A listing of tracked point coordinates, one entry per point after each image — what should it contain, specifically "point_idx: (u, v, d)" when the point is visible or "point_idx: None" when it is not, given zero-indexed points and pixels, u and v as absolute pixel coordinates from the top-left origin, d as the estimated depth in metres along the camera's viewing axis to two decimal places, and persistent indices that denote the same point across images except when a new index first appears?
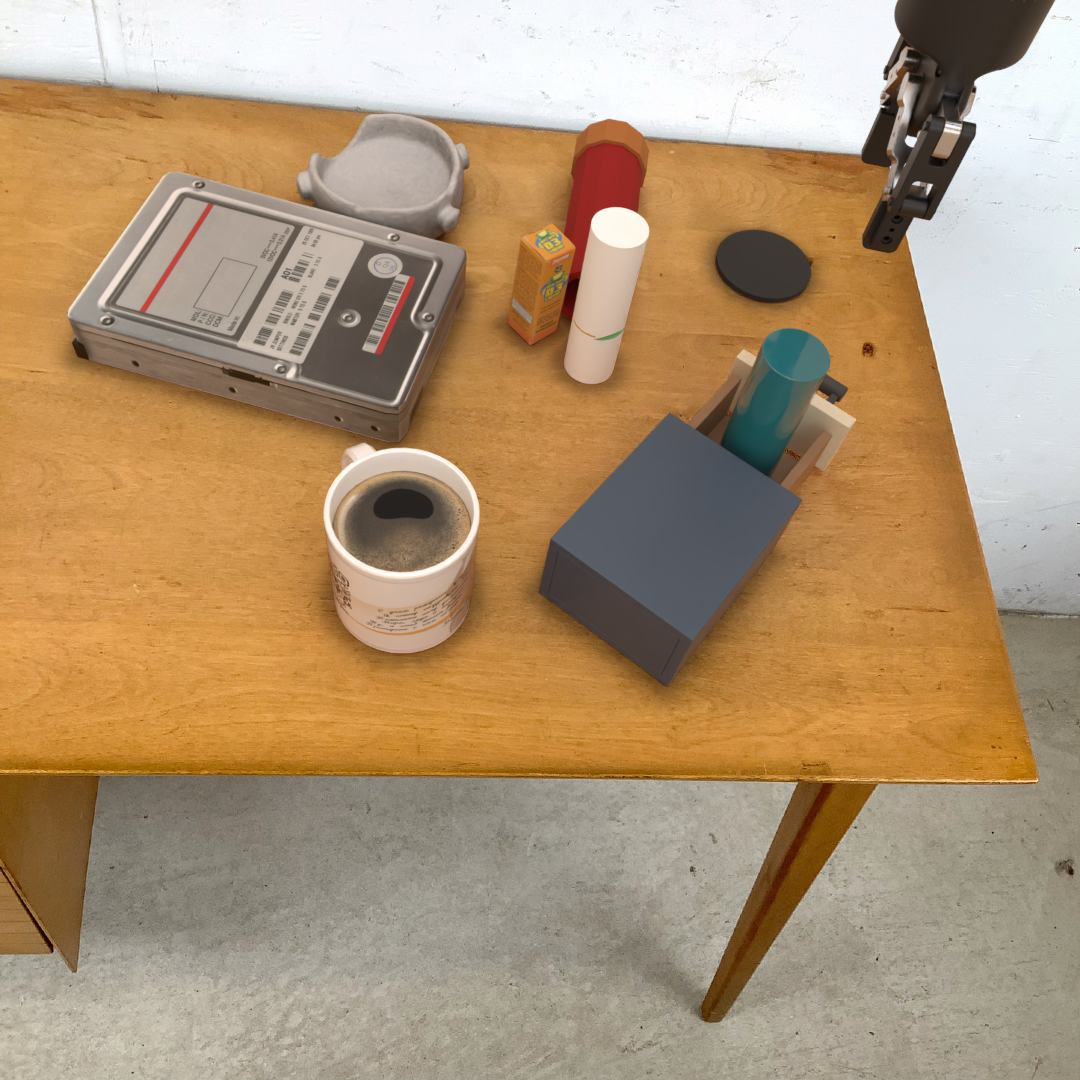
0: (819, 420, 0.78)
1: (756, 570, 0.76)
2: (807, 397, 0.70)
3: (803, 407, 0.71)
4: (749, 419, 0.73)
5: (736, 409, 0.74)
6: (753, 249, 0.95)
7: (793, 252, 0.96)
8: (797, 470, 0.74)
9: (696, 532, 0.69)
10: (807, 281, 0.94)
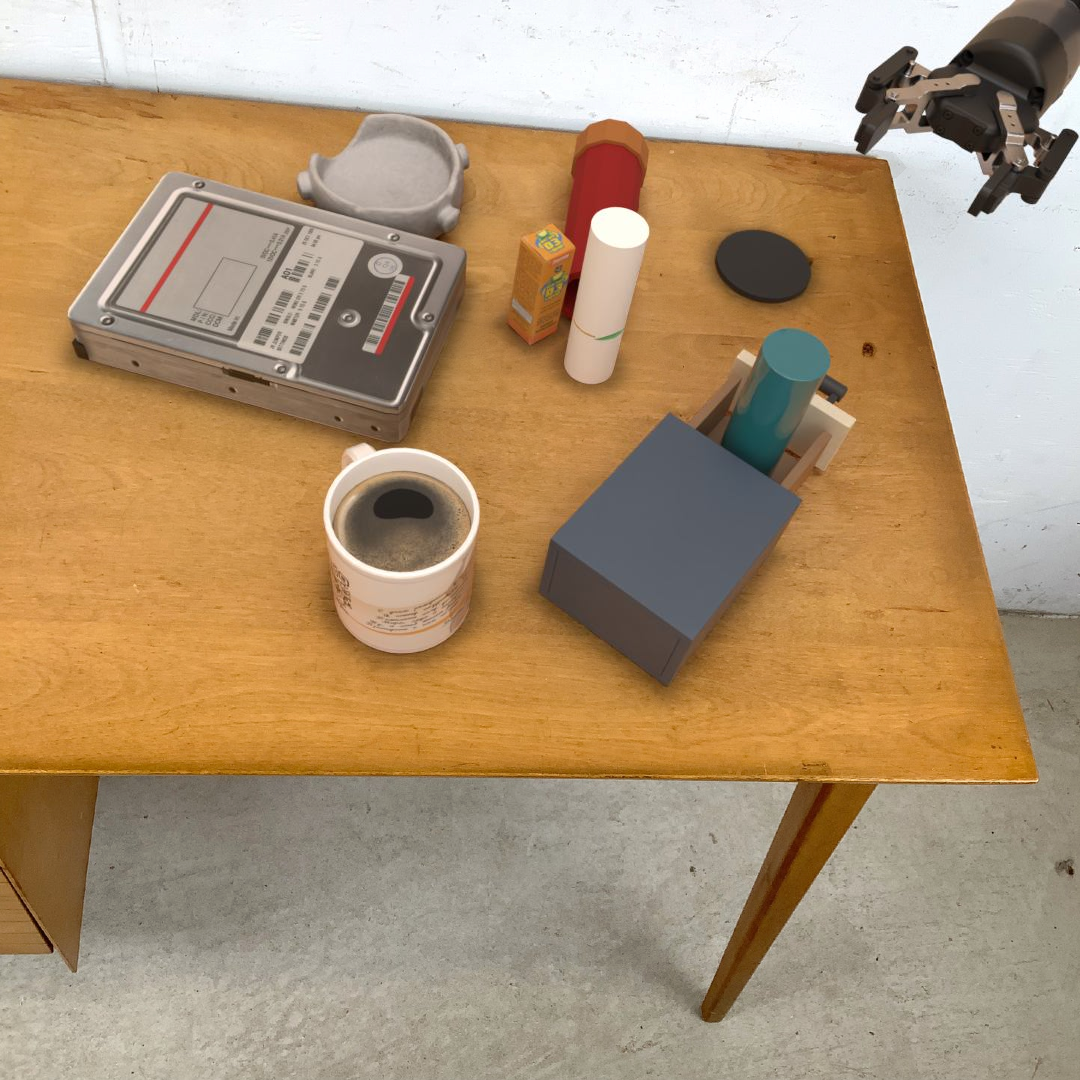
0: (819, 420, 0.78)
1: (756, 570, 0.76)
2: (807, 397, 0.70)
3: (803, 407, 0.71)
4: (749, 419, 0.73)
5: (736, 409, 0.74)
6: (753, 249, 0.95)
7: (793, 252, 0.96)
8: (797, 470, 0.74)
9: (696, 532, 0.69)
10: (807, 281, 0.94)
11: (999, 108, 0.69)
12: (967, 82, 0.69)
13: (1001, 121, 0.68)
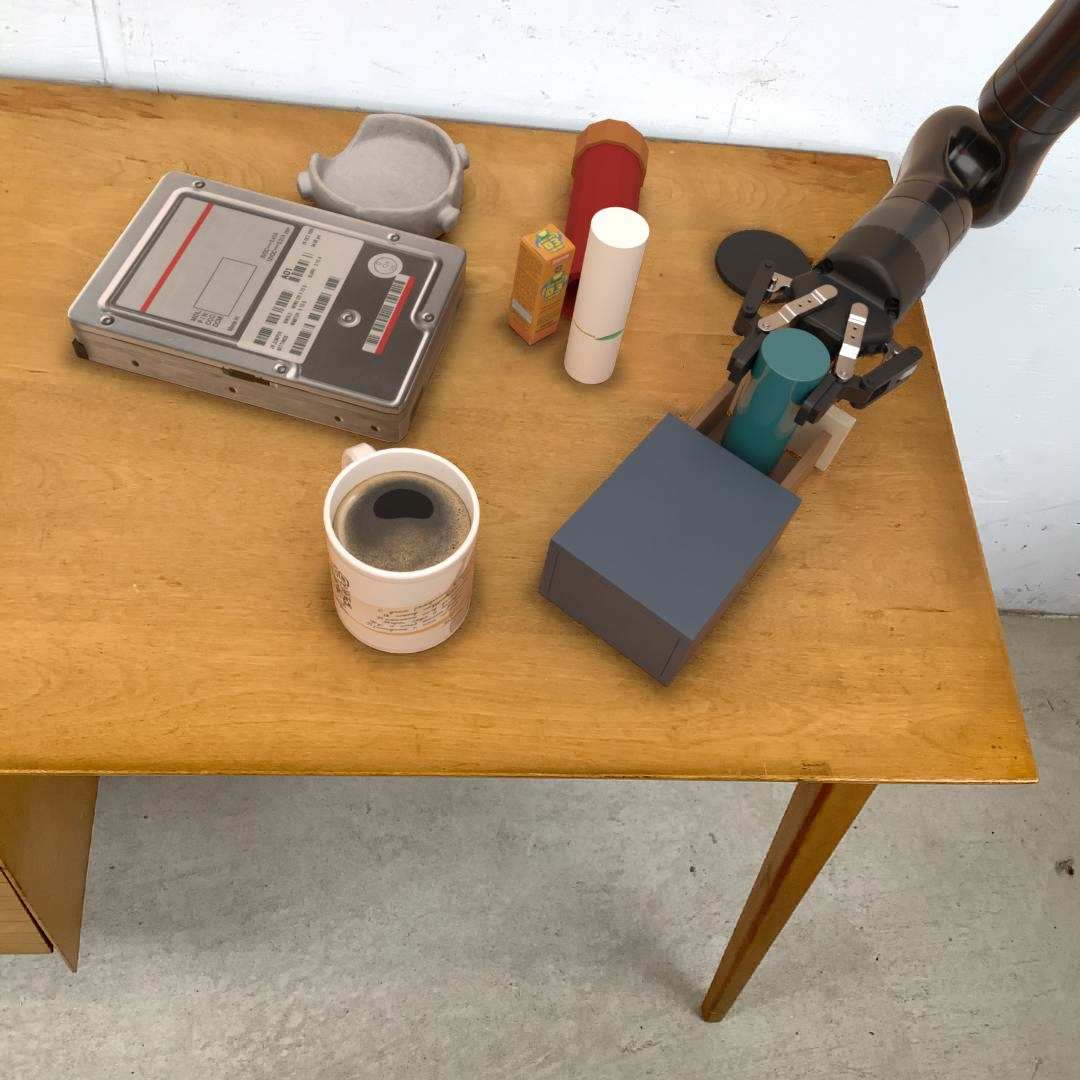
0: None
1: (756, 570, 0.76)
2: (807, 397, 0.70)
3: None
4: (749, 419, 0.73)
5: (736, 409, 0.74)
6: (753, 249, 0.95)
7: (793, 252, 0.96)
8: (797, 470, 0.74)
9: (696, 532, 0.69)
10: None
11: (848, 319, 0.72)
12: (824, 294, 0.72)
13: (845, 331, 0.71)
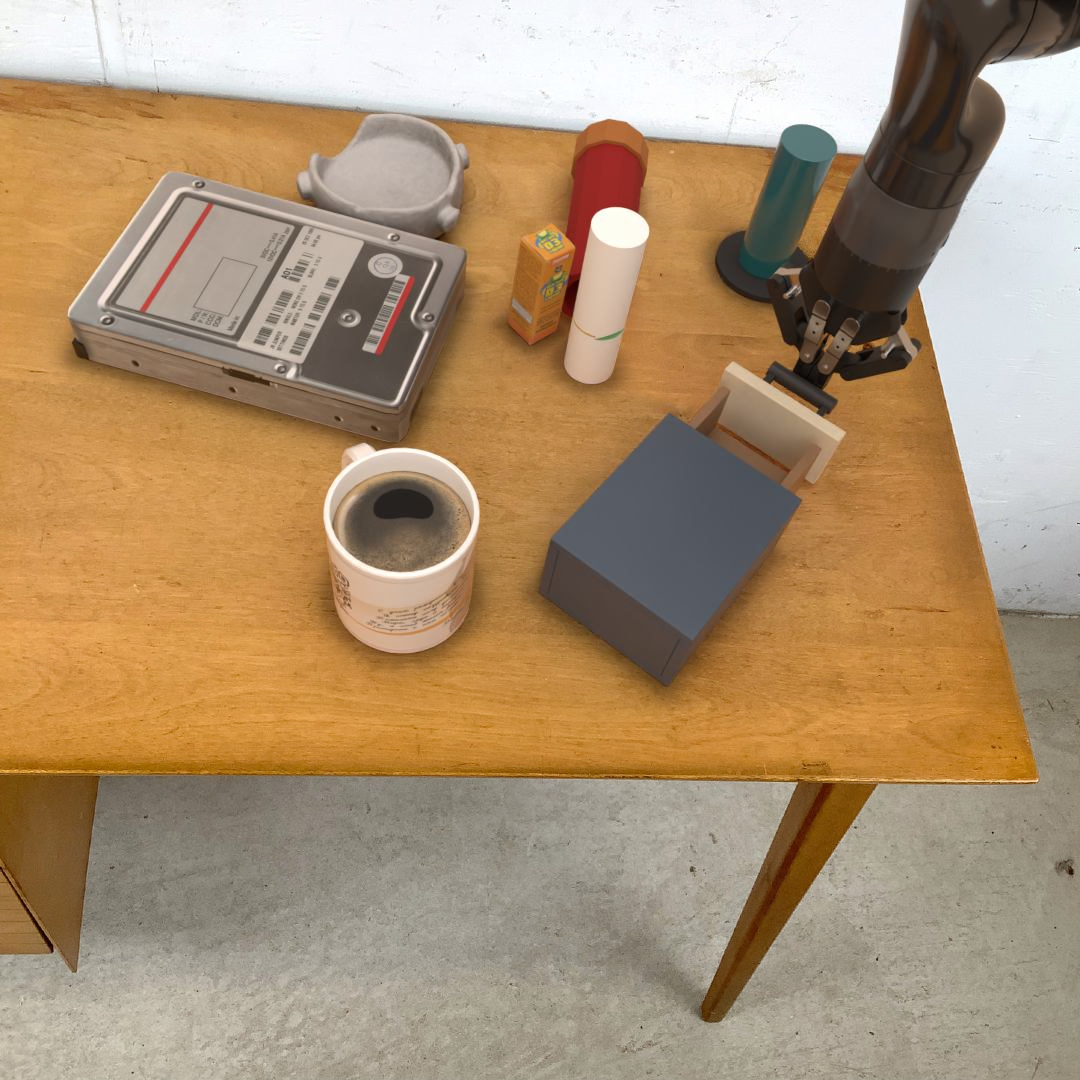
0: (808, 433, 0.78)
1: (756, 570, 0.76)
2: (818, 180, 0.84)
3: (815, 191, 0.85)
4: (769, 205, 0.87)
5: (758, 201, 0.89)
6: None
7: None
8: (786, 484, 0.74)
9: (696, 532, 0.69)
10: None
11: (840, 328, 0.75)
12: (818, 313, 0.75)
13: None
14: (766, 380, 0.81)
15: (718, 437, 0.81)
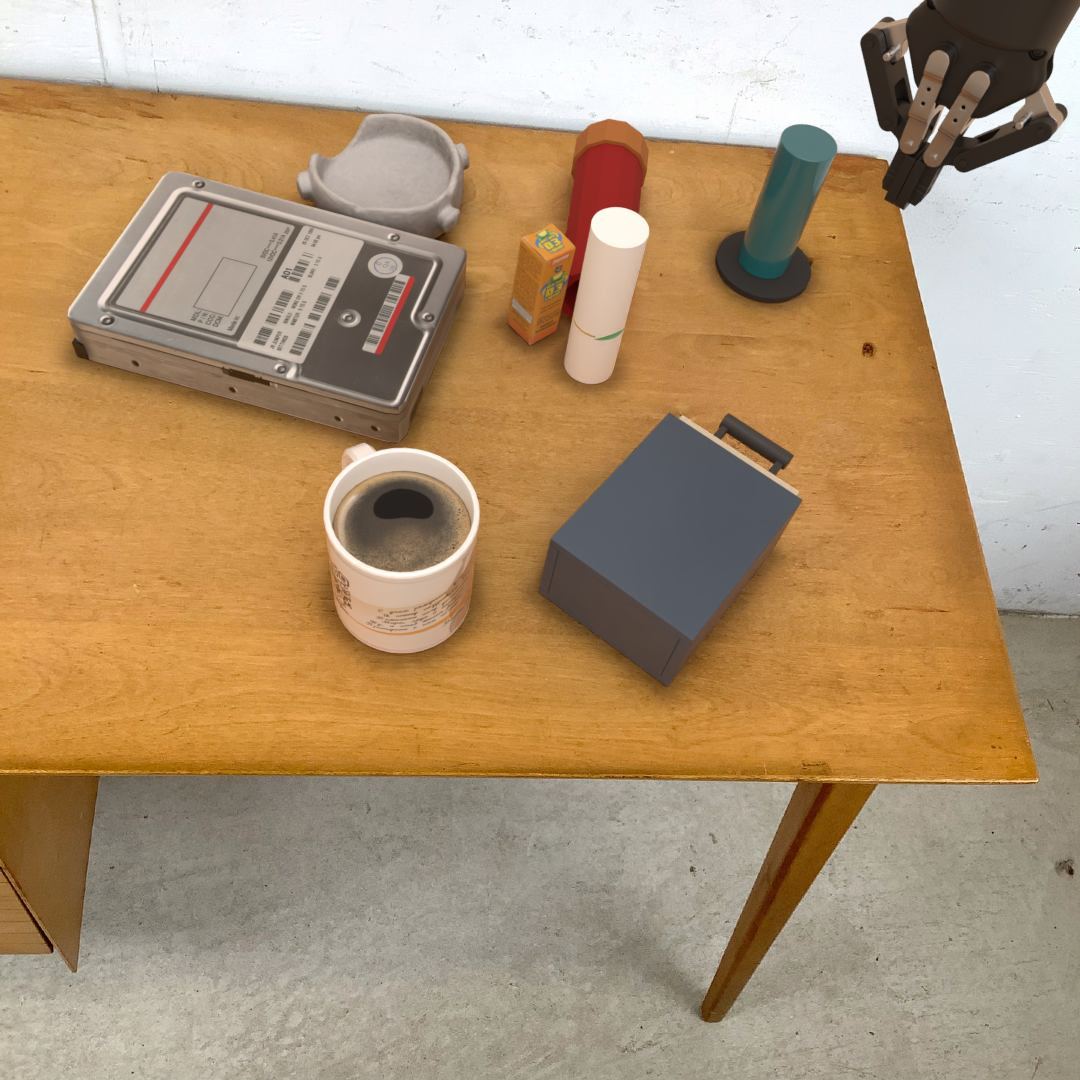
0: None
1: (756, 570, 0.76)
2: (818, 180, 0.84)
3: (815, 191, 0.85)
4: (769, 205, 0.87)
5: (758, 201, 0.89)
6: None
7: None
8: None
9: (696, 532, 0.69)
10: (807, 281, 0.94)
11: (960, 91, 0.58)
12: (932, 71, 0.58)
13: None
14: (718, 434, 0.78)
15: None
